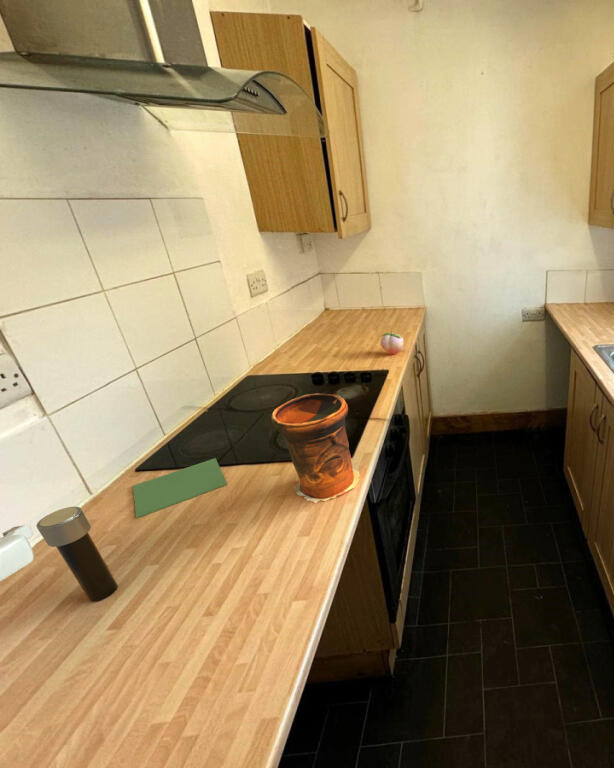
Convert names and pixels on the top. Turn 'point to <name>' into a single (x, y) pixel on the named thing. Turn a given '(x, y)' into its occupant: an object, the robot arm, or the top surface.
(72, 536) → the torch
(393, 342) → the decorative fruit
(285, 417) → the vessel
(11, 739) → the top surface
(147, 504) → the cloth
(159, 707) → the top surface
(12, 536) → the robot arm
